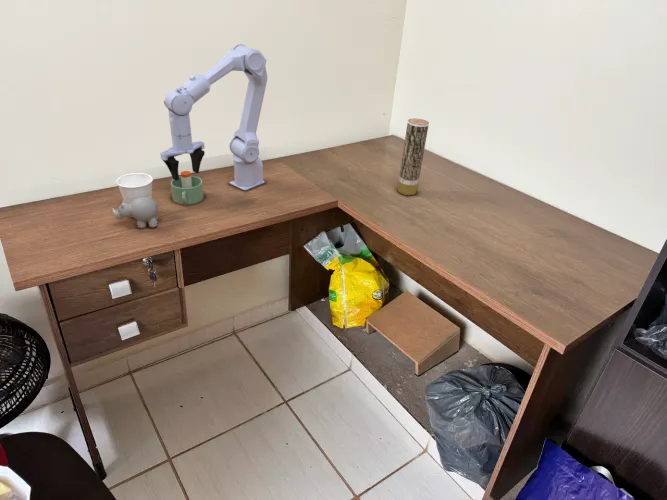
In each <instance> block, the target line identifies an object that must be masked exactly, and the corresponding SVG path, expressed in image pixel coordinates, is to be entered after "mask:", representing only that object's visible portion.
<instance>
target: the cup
mask: <svg viewBox="0 0 667 500" xmlns="http://www.w3.org/2000/svg"><path fill="white" fill-rule="evenodd" d="M153 181H154V178H153V176H152V175H150V174H148V173H143V172H132V173H127V174H123V175H121V176H119V177H118V178H117V179H116V180H115V184H116V185H117V186H118V189H119V192H120V195H121V196H122V200H124V201H125V202H126V203H129V204H131V203H132V202H133V201H134V200H135V199H136V198H138V197H141V196H146V197H149V198H151V199H153V197H152V196H153ZM131 218H134V217H133V216H131Z"/></svg>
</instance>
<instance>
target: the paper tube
mask: <svg viewBox="0 0 667 500" xmlns="http://www.w3.org/2000/svg"><path fill="white" fill-rule="evenodd" d="M429 125H430V122H429V120H426V119H423V118H409V119H408V120H407V124H406V131H405V137H404V144H403V150H402V157H401V163H400V170H399V176H398V183H397V192H398V193H399V194H401V195H404V196H414V195H415V194H417V192H418V187H419V182H420V176H421V171H422V165H423V160H424V154H425V148H426V142H427V137H428V132H429Z"/></svg>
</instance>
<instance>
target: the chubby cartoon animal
mask: <svg viewBox="0 0 667 500" xmlns="http://www.w3.org/2000/svg"><path fill="white" fill-rule="evenodd" d="M121 202H122V203H120V204H119V206H118V208H116V209H115V208H114V207H112V213H113V217H114V218H115V219H116V220H119V221H120V220H123V219H125V218H127V219H128V218H134V219H135V220H136V227H137V228H138V229H145V228H147V227H149V228H151V229H152V228H153V229H154V228H156V227H158V226H159V223H158V220H159V218H158V217H159V214H158V212H159V208H158V207H159V206H158V205H157V204H158V203H157V202H156V201H155V200H154V199H153V198H152V199H151V198H149V197H146V196H141V197H138V198H136V199H135V200H134V201H133V202H132V203H131V204H129V203H126V202H125V201H124V199H121ZM132 216H133V217H132ZM157 218H158V219H157ZM157 223H158V224H157ZM148 224H149V225H156V224H157V225H156V226H149V225H148ZM137 225H139V226H142V227H139V226H137ZM143 225H145V226H143Z"/></svg>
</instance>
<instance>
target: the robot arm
mask: <svg viewBox="0 0 667 500" xmlns="http://www.w3.org/2000/svg"><path fill="white" fill-rule="evenodd" d="M266 65H267V58H266V57H265V56H264V54H263V53H262V52H261V51H260V50H259V49H254V48H251V47H249V46H247V45H245V44H242V43H238V44H236V45H234V46H233V47H232V48H230V49H229V50H227V52H226V54H224V56H223V57H222V58H221V59H220V60H218V61H217V62H216V63H215V64H214V65H213V66H212V67H210V68H209V69H208V70H207V71H206V72H205V73H204V74H195V75H193V74H192V75H190V76H189V77H188V80H187V81H186V82H185V83H183V84H182V85H181V86H177V87H176V90H170V91H168V92H167V93H166V95H165V96H164V100H163V104H164V107H166V108H167V110H168V119H169V126H170V134H171V145H172V147H169V148H168V149H166V150H164V151H161V152H160V153H159V155H160V160H162V161H163V163H164V164H165V165H166V167H167V169H168V171H169V172H170V175H171V178H172V180H173V179H174V180H179V177H180V175H179V163H180V161H179V160H178V159H176V158H175V157H178V156H182V155H185V154H188V155H189V157H190V161H191V169H192V172H193V173H195V174H199V173H200V169H201V164H202V160H203V158H204V156H205V155H206V154H205V150H204V149H206V147H205V142H203V141H201V140H199V141H194V142H193V137H192V136H193V135H192V128H191V118H190V113H191V111H192V109H193V105H195V104H196V103H197V102H198V101H200V100H201V99H202V98H203V97H205V96H206V95H207V94H209V93H210V91H211V86H212V85H213V84H215V83H216V82H218V81H219V80H221V79H222V78H223V77H225V76H226V75H228V74H229V73H231V72H232V71H235V72H236V71H237V72H243V73H244V75H245V76H246V78H247V79H248V84H247V87H246V93H245V98H244V104H243V109H242V112H241V113H242V114H241V119H240V124H239V129H237V130H236V131H235V132H234V133H233V137H232V139H231V140H230V142H229V151H230V152H231V154H233V174H234V180H231V181H229V185H230V186H231V185H232V186H234V187H235V188H238V189H240V190H243V191H248V190H250V189H253V188H255V187H258V186H260V185H263V184H265V180H264V164H263V162H262V160H261V158H260V157H259V156H260V150H259V149H260V147H259V146H260V145H259V144H260V141H259V137H258V135H257V130H258V126H259V120H260V116H261V111H262V108H263V107H262V106H263V102H264V97H265V92H266V89H267V84H268V73H267V67H266Z"/></svg>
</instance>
